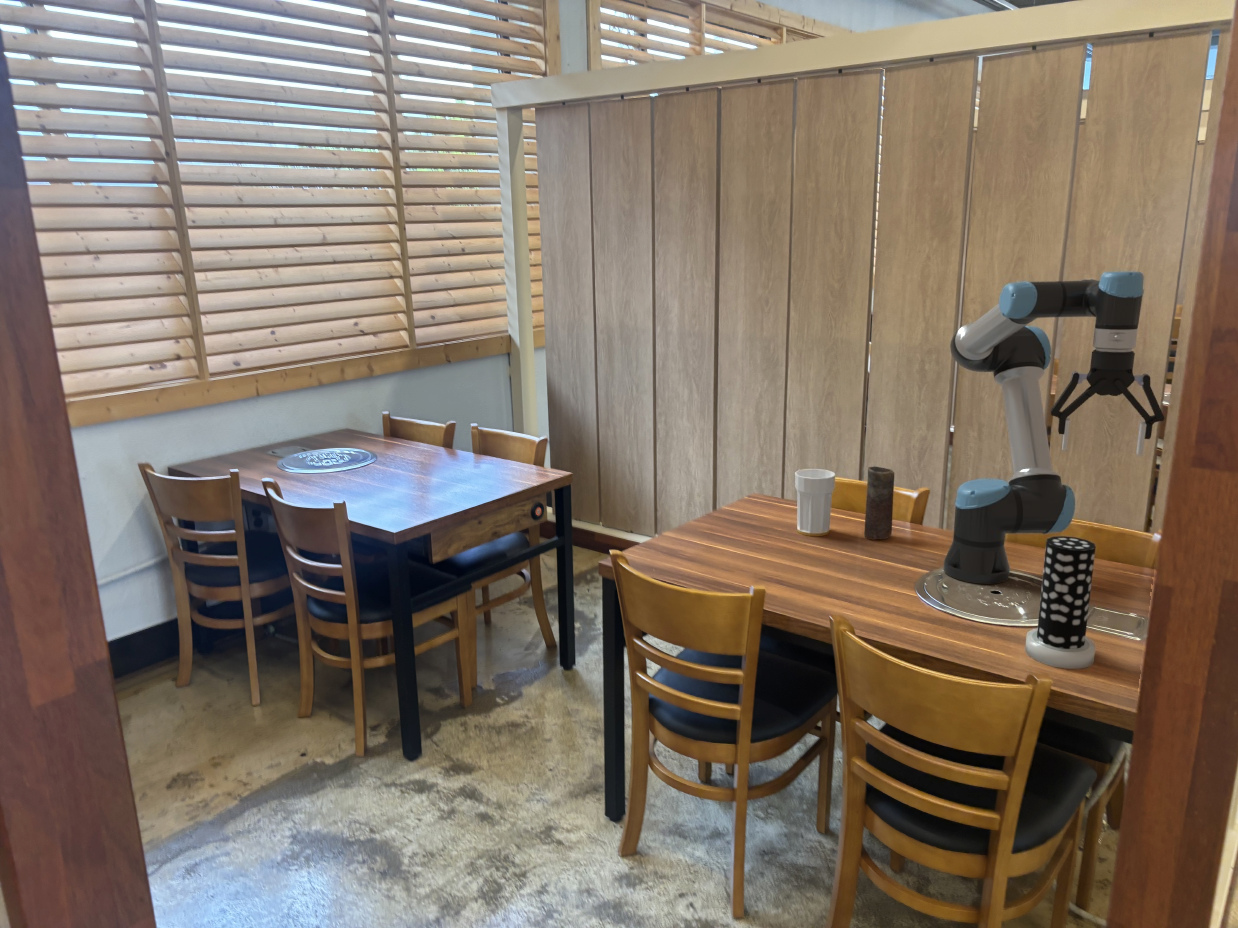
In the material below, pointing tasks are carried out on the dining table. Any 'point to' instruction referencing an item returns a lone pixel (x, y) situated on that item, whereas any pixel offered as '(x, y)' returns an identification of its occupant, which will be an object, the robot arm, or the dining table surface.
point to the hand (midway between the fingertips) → (1101, 451)
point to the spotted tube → (1065, 592)
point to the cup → (814, 501)
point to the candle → (879, 503)
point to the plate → (1059, 653)
